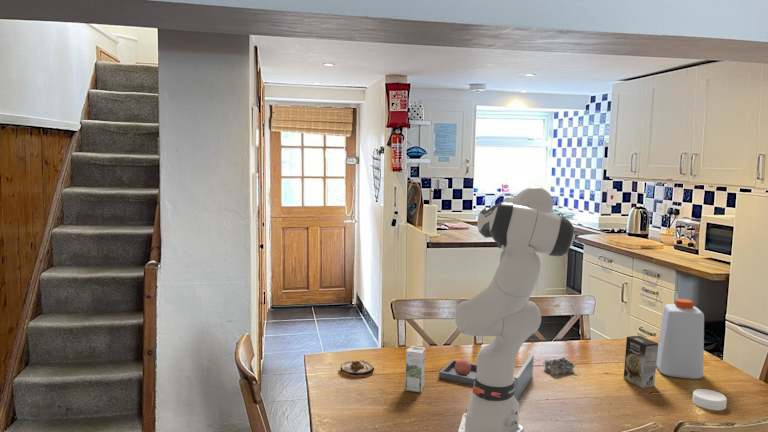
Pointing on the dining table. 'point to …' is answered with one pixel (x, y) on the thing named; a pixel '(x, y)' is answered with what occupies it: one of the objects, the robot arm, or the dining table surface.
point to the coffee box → (640, 361)
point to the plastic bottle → (681, 341)
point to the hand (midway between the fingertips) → (510, 282)
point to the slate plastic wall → (523, 377)
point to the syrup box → (415, 369)
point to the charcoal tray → (451, 374)
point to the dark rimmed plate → (357, 369)
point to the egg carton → (558, 366)
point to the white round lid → (709, 399)
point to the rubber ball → (462, 367)
